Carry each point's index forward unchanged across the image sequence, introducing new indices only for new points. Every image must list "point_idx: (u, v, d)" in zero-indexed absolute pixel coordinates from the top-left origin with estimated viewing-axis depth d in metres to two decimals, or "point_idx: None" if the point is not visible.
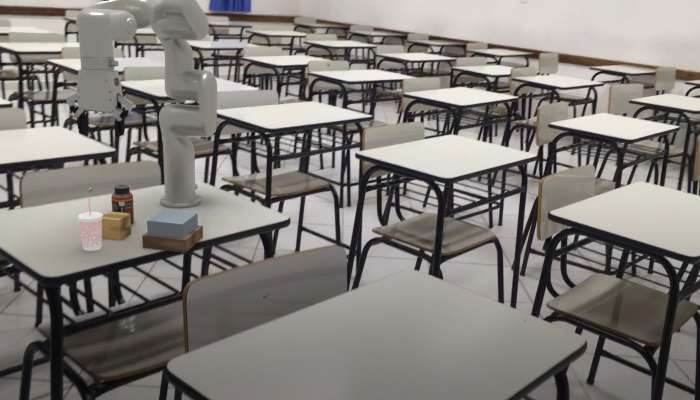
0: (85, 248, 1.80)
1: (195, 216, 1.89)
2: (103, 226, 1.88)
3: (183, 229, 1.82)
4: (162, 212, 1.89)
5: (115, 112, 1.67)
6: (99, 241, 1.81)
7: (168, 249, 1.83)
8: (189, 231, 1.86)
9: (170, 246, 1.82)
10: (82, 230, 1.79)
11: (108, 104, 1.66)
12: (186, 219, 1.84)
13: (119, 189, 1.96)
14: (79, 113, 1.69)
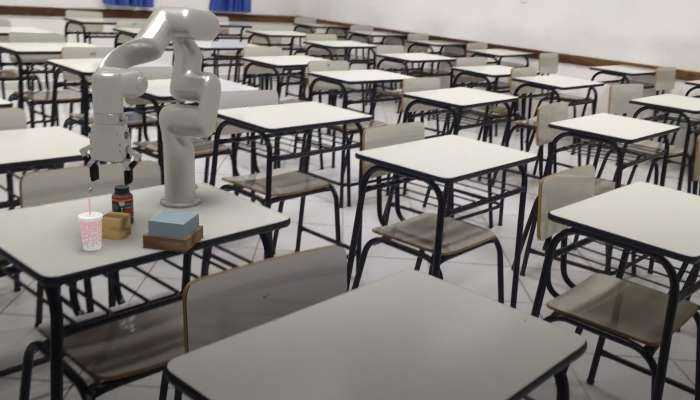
0: (85, 248, 1.80)
1: (196, 216, 1.88)
2: (103, 226, 1.88)
3: (184, 229, 1.81)
4: (163, 212, 1.89)
5: (124, 162, 1.83)
6: (99, 241, 1.81)
7: (168, 249, 1.83)
8: (190, 231, 1.86)
9: (170, 246, 1.82)
10: (82, 230, 1.79)
11: (118, 155, 1.81)
12: (187, 220, 1.84)
13: (119, 189, 1.96)
14: (91, 163, 1.84)
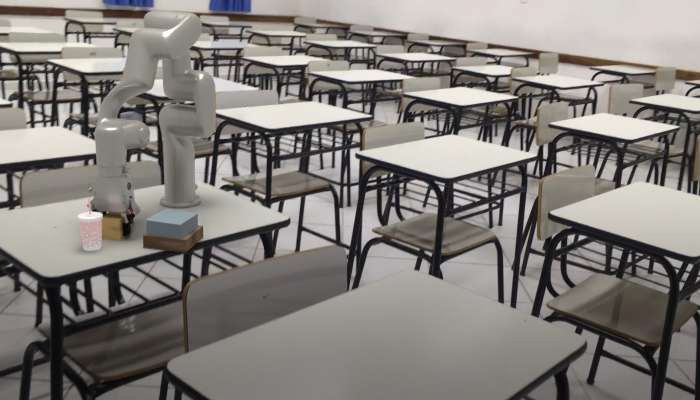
0: (85, 248, 1.80)
1: (194, 217, 1.88)
2: (103, 226, 1.88)
3: (181, 230, 1.81)
4: (162, 212, 1.89)
5: (124, 215, 1.87)
6: (99, 241, 1.81)
7: (168, 249, 1.83)
8: (188, 232, 1.86)
9: (170, 246, 1.82)
10: (82, 230, 1.79)
11: (121, 206, 1.86)
12: (185, 220, 1.84)
13: None
14: None
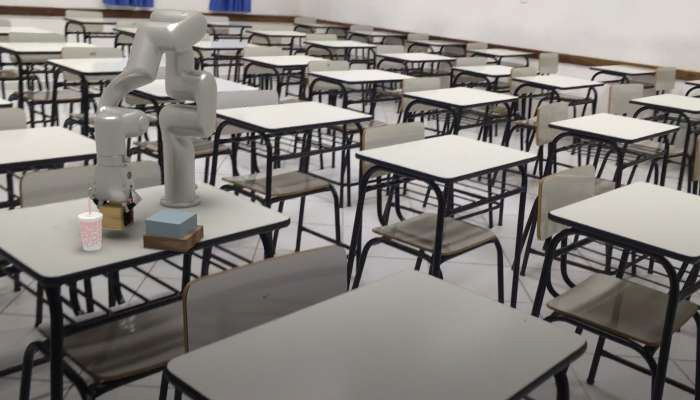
0: (85, 248, 1.80)
1: (193, 216, 1.88)
2: (104, 215, 1.87)
3: (180, 229, 1.82)
4: (162, 212, 1.90)
5: (125, 204, 1.87)
6: (99, 241, 1.81)
7: (169, 249, 1.83)
8: (187, 231, 1.86)
9: (171, 245, 1.82)
10: (82, 230, 1.79)
11: (122, 195, 1.85)
12: (184, 219, 1.84)
13: None
14: (100, 205, 1.88)
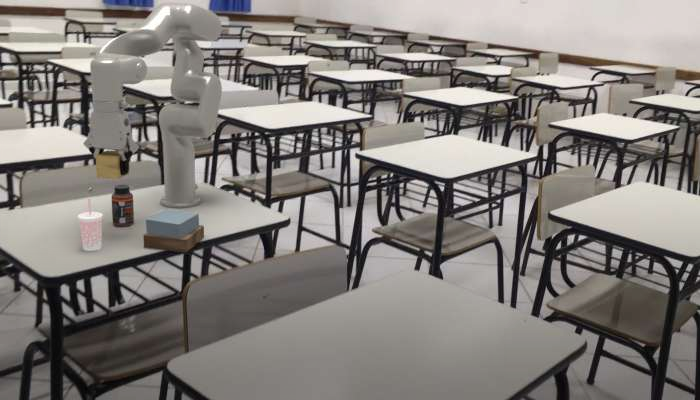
0: (85, 248, 1.80)
1: (195, 217, 1.88)
2: (100, 164, 1.83)
3: (180, 229, 1.81)
4: (164, 211, 1.90)
5: (122, 152, 1.83)
6: (99, 241, 1.81)
7: (169, 249, 1.83)
8: (188, 231, 1.85)
9: (171, 245, 1.82)
10: (82, 230, 1.79)
11: (119, 143, 1.81)
12: (185, 220, 1.84)
13: (119, 189, 1.96)
14: (97, 153, 1.84)
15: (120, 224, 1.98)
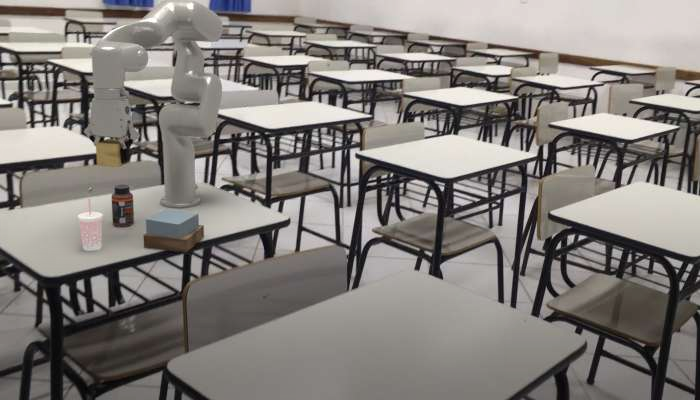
0: (85, 248, 1.80)
1: (195, 217, 1.88)
2: (100, 152, 1.82)
3: (179, 229, 1.81)
4: (164, 211, 1.90)
5: (122, 140, 1.81)
6: (99, 241, 1.81)
7: (169, 249, 1.83)
8: (187, 231, 1.85)
9: (171, 245, 1.82)
10: (82, 230, 1.79)
11: (119, 131, 1.80)
12: (185, 220, 1.84)
13: (119, 189, 1.96)
14: (97, 141, 1.83)
15: (120, 224, 1.98)
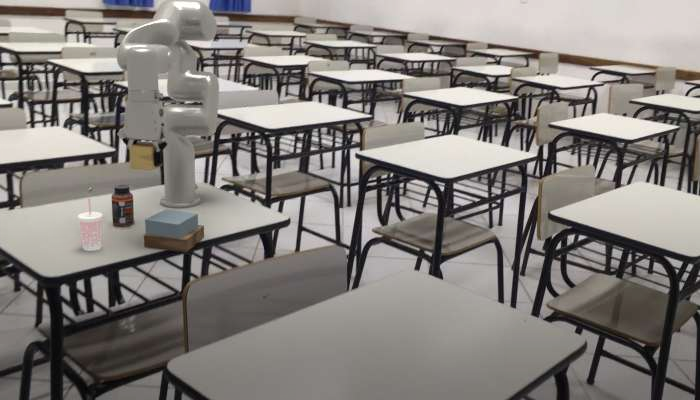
0: (85, 248, 1.80)
1: (194, 217, 1.88)
2: (133, 155, 1.80)
3: (179, 229, 1.81)
4: (163, 212, 1.90)
5: (156, 143, 1.80)
6: (99, 241, 1.81)
7: (169, 249, 1.83)
8: (187, 232, 1.85)
9: (171, 245, 1.83)
10: (82, 230, 1.79)
11: (153, 133, 1.78)
12: (184, 220, 1.84)
13: (119, 189, 1.96)
14: (131, 144, 1.81)
15: (120, 224, 1.98)
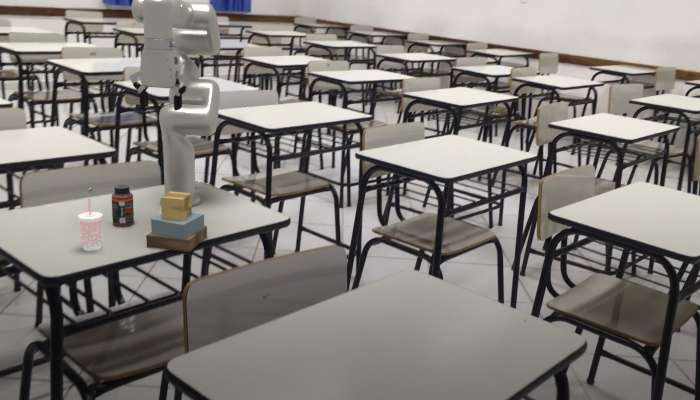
0: (85, 248, 1.80)
1: (200, 217, 1.88)
2: (165, 206, 1.83)
3: (183, 230, 1.82)
4: None
5: (174, 88, 1.87)
6: (99, 241, 1.81)
7: (172, 249, 1.83)
8: (192, 232, 1.86)
9: (174, 246, 1.83)
10: (82, 230, 1.79)
11: (168, 81, 1.86)
12: (189, 220, 1.84)
13: (119, 189, 1.96)
14: (141, 89, 1.89)
15: (120, 224, 1.98)
